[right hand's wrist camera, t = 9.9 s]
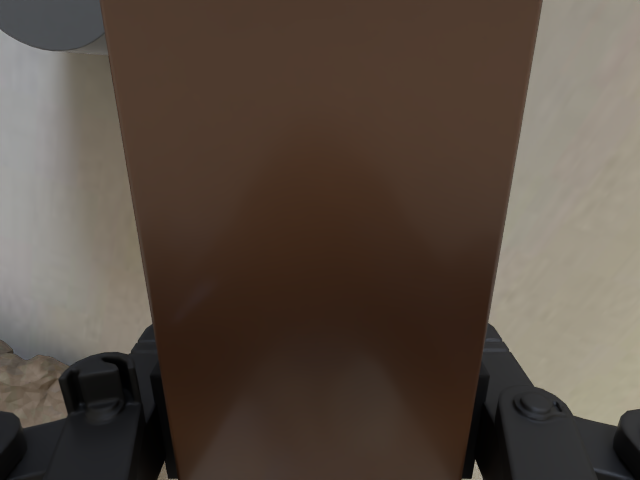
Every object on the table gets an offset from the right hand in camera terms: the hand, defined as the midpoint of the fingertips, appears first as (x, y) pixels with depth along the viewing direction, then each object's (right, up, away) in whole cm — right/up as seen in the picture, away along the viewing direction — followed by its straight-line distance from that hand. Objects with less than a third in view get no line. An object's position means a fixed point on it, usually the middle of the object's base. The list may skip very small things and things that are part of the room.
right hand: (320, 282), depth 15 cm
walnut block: (0, +9, -3) cm, 10 cm away
